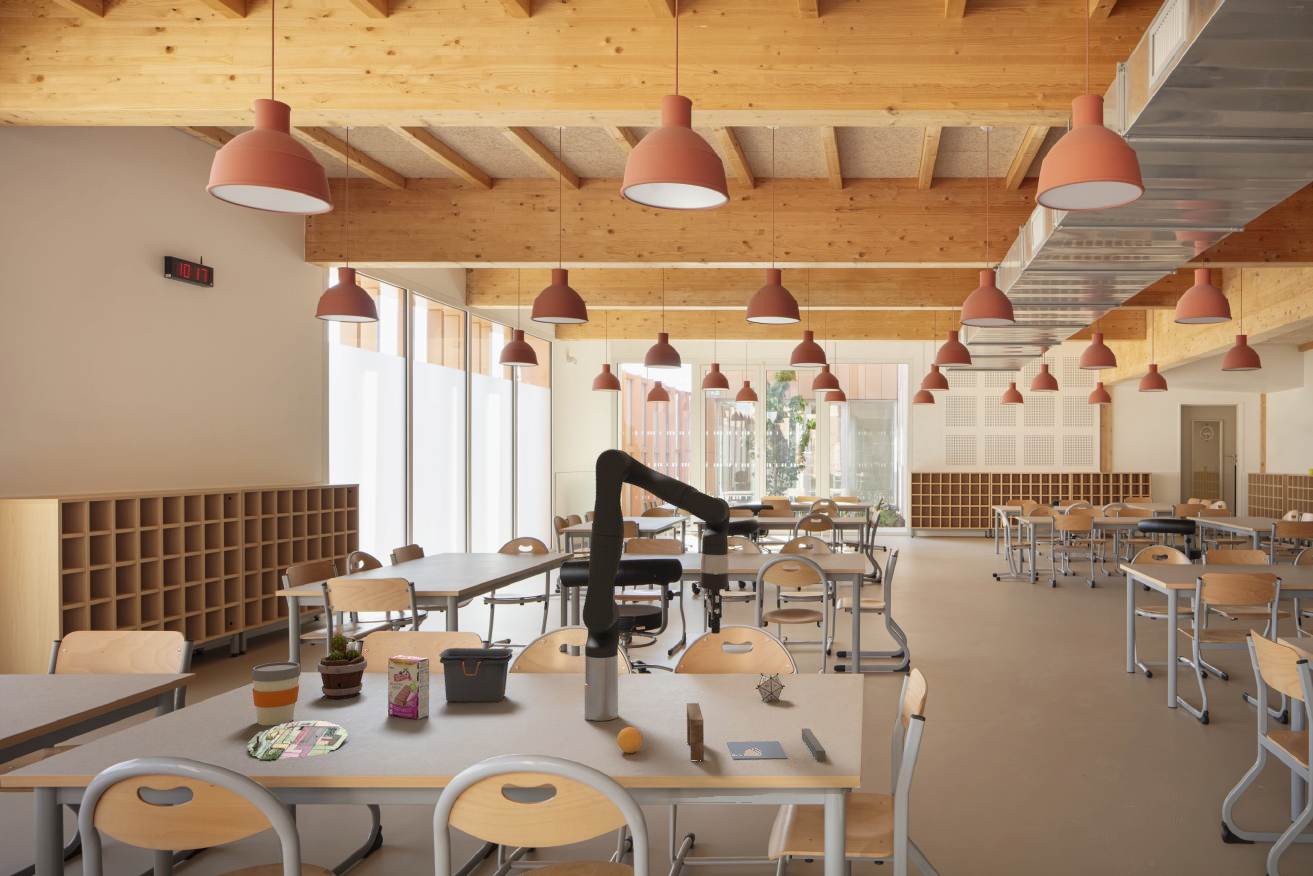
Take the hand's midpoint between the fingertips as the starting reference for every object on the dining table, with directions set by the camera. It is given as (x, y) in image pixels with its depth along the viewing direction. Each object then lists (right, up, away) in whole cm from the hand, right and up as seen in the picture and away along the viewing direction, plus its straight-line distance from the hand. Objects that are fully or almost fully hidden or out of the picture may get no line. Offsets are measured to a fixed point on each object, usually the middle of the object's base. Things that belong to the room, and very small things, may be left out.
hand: (713, 630), depth 234 cm
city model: (-106, -26, -18) cm, 111 cm away
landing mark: (+9, -24, -24) cm, 35 cm away
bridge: (-6, -24, -24) cm, 35 cm away
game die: (+19, -27, +23) cm, 40 cm away
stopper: (+23, -24, -24) cm, 41 cm away
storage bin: (-71, -27, +27) cm, 80 cm away
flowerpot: (-114, -28, +34) cm, 122 cm away
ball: (-22, -21, -25) cm, 39 cm away
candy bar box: (-86, -27, +9) cm, 91 cm away
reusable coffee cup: (-122, -27, +5) cm, 125 cm away
